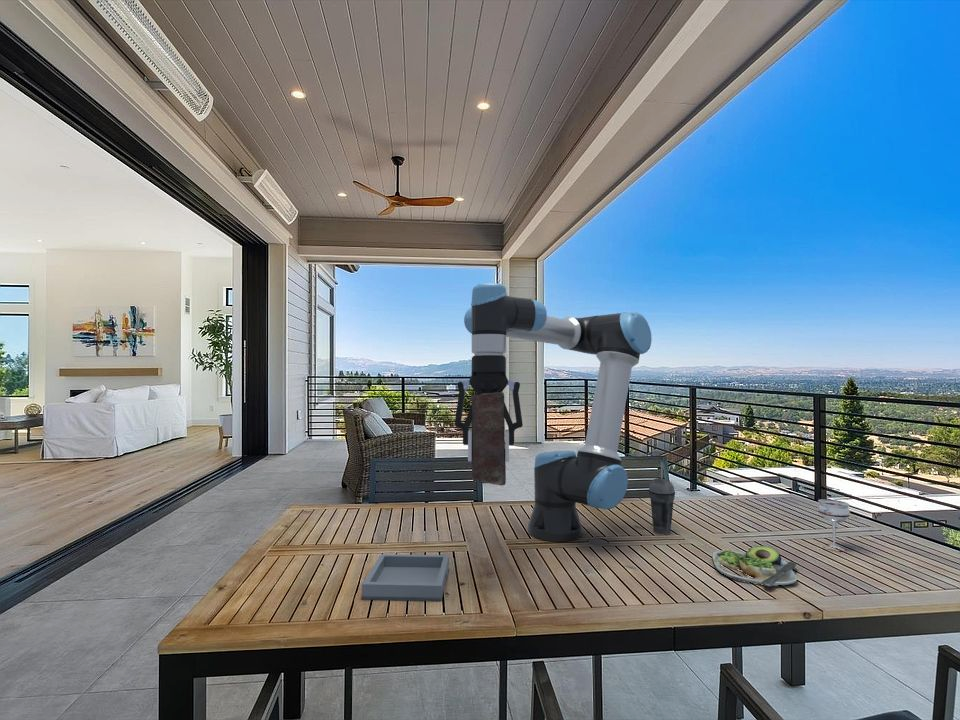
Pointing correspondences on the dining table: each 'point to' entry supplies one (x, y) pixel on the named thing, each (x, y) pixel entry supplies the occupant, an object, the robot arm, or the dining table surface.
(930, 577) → the dining table surface
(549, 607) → the dining table surface
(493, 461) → the brown rough cylinder
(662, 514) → the beverage cup
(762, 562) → the salad plate
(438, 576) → the tray
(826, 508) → the wineglass
